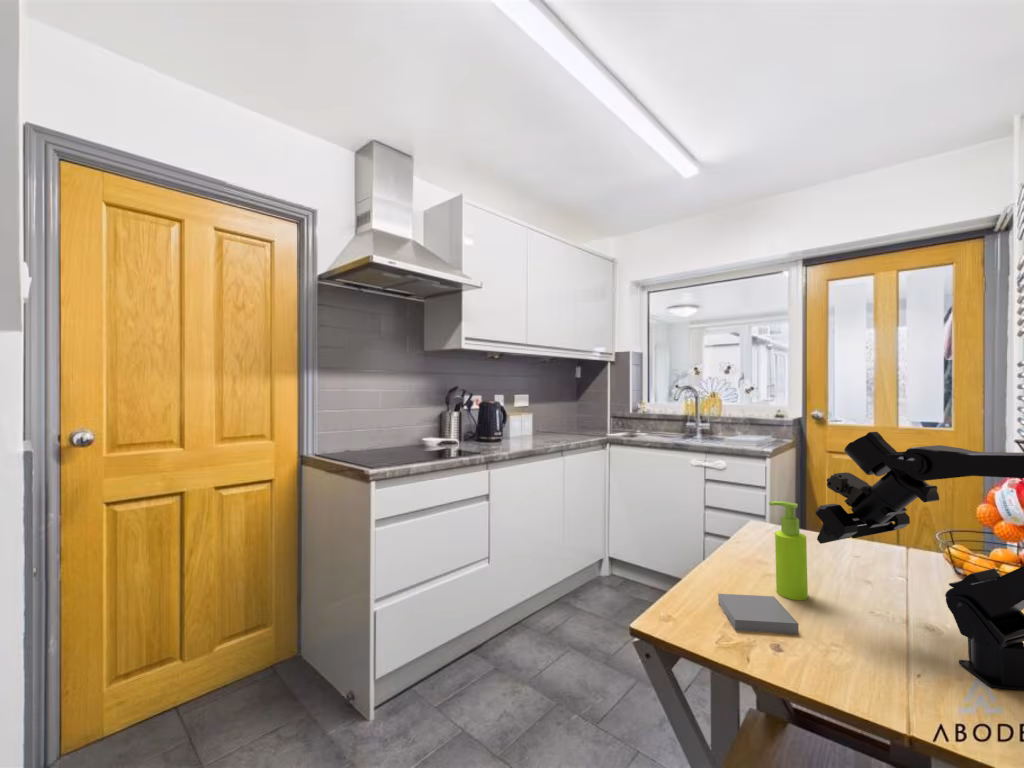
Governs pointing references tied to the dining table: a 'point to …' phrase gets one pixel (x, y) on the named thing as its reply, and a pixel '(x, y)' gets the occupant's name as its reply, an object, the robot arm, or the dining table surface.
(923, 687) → the dining table surface
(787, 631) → the slate stand
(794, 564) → the soap dispenser
